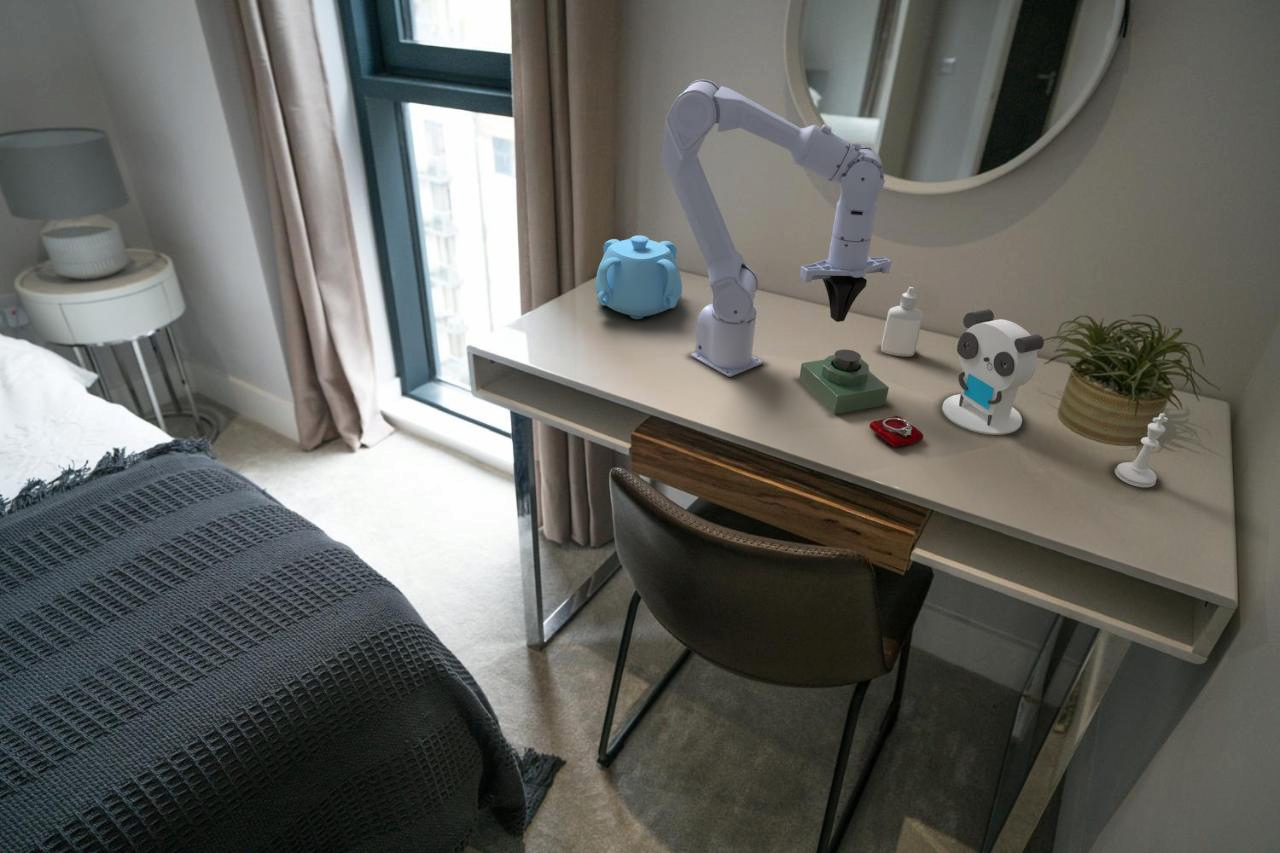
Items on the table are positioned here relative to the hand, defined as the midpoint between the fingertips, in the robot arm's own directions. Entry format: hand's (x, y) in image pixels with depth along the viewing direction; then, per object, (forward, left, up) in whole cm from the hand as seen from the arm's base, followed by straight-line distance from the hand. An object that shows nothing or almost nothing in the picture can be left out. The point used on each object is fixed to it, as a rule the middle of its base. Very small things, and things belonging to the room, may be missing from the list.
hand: (837, 318), depth 124 cm
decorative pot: (-40, -8, -10) cm, 42 cm away
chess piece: (+44, +11, -10) cm, 47 cm away
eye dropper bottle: (+2, +16, -10) cm, 19 cm away
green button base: (+5, -3, -10) cm, 12 cm away
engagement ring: (+18, -7, -10) cm, 22 cm away
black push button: (+5, -3, -5) cm, 8 cm away
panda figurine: (+22, +9, -10) cm, 26 cm away
